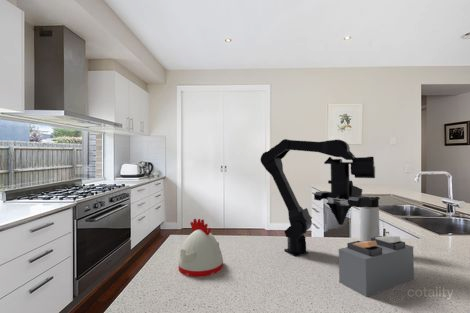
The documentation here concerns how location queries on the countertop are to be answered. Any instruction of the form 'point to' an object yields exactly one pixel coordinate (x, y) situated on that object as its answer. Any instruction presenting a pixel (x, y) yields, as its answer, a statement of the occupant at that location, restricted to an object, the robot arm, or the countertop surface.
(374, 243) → the orange rocker
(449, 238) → the countertop surface
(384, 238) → the white rocker
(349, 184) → the robot arm
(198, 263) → the kitchen timer
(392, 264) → the switch box
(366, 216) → the travel mug
